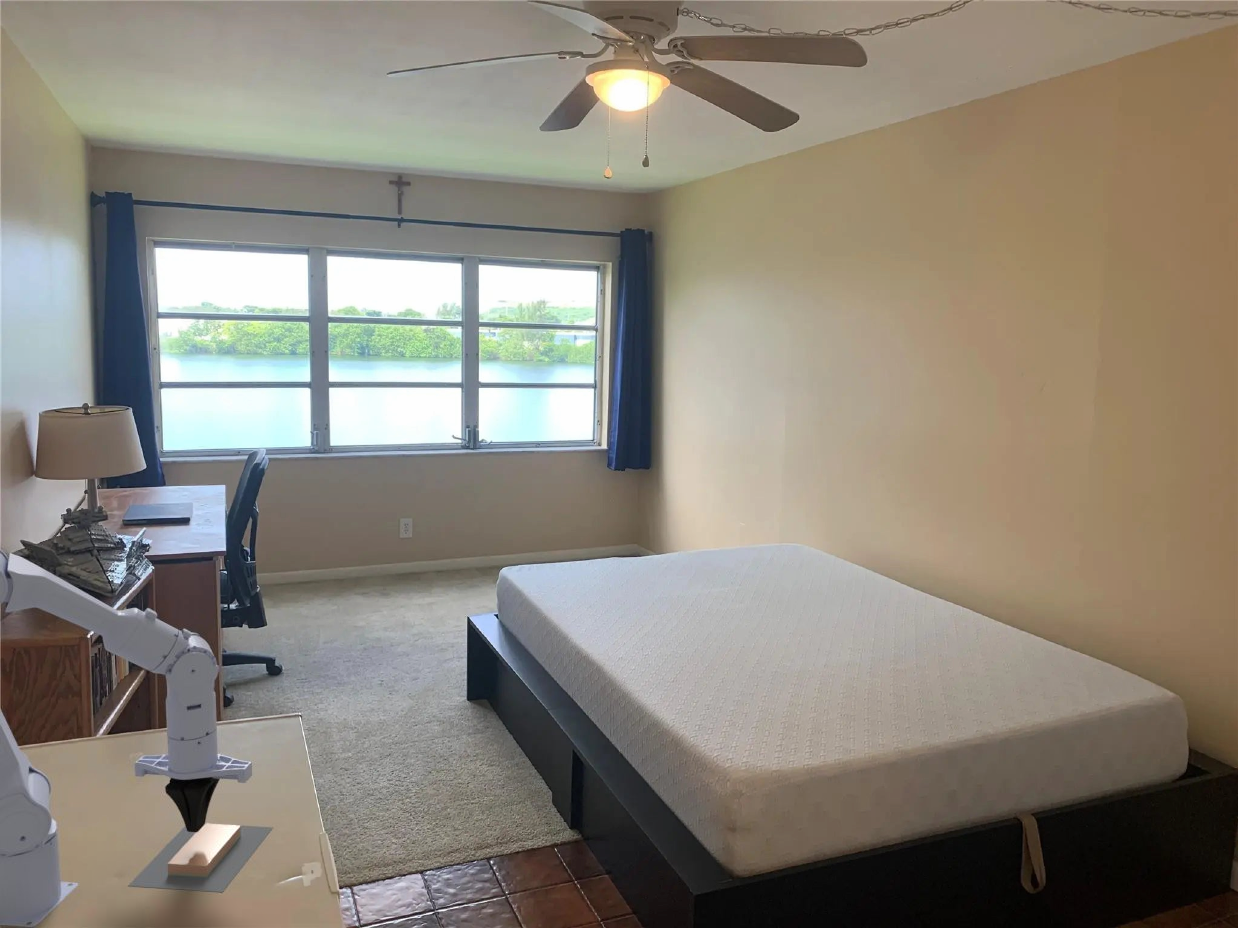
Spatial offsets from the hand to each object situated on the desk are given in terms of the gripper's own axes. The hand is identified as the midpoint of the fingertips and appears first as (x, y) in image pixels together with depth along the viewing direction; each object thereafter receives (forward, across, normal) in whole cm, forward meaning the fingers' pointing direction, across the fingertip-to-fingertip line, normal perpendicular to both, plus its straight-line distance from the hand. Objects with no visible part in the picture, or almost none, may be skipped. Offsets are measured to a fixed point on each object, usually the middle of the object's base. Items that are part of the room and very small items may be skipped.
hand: (196, 827), depth 113 cm
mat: (+4, -1, 0) cm, 4 cm away
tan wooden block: (+3, -4, 0) cm, 5 cm away
